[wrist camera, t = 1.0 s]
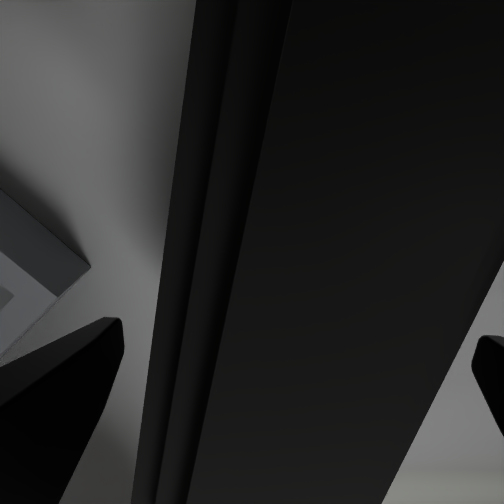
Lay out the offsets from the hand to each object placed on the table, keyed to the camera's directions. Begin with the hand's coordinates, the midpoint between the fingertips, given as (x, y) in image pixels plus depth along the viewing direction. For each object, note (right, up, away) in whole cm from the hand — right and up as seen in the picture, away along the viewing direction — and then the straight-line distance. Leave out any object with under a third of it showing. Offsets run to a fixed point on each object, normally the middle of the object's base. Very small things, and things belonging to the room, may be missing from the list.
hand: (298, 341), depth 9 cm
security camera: (0, +3, +8) cm, 8 cm away
